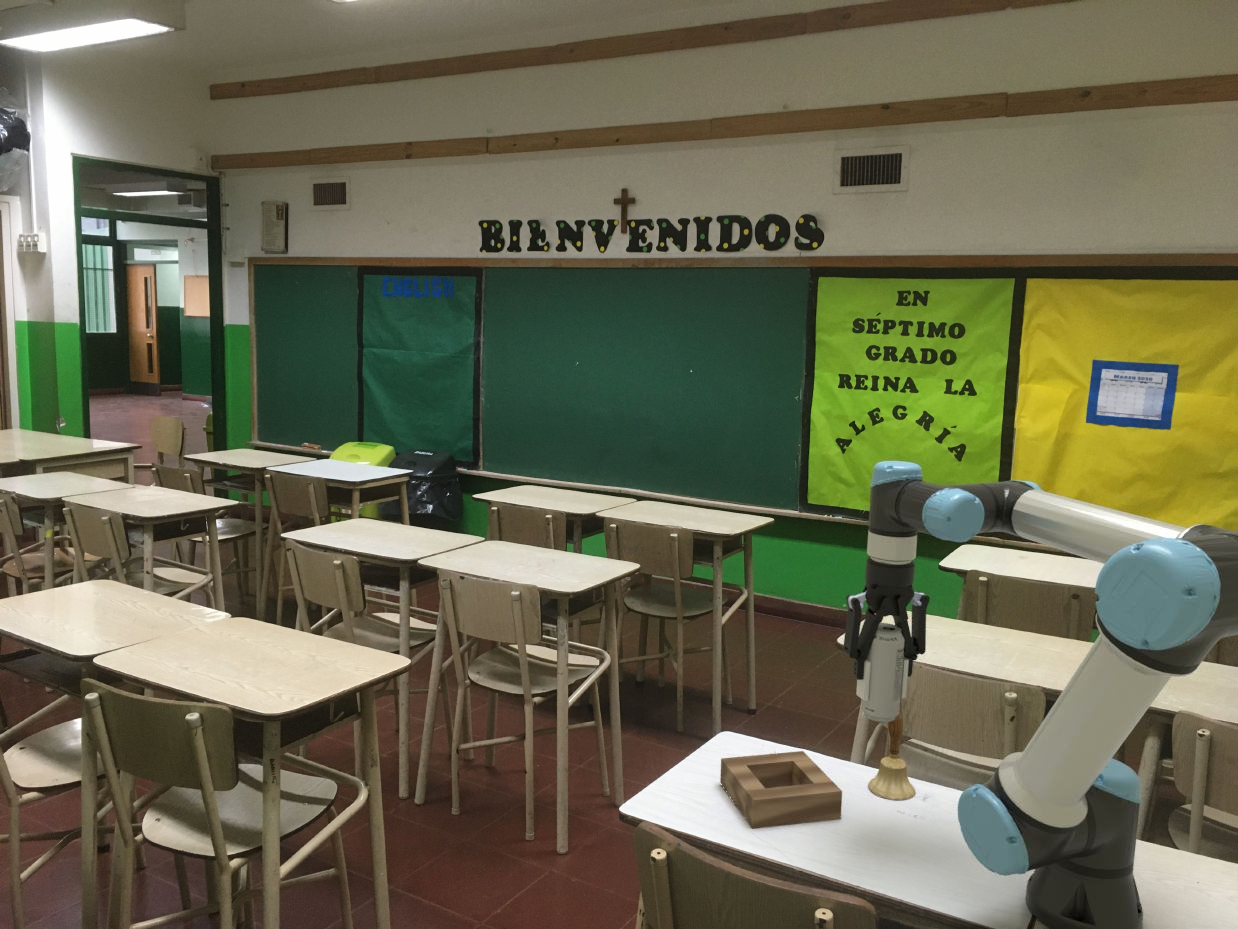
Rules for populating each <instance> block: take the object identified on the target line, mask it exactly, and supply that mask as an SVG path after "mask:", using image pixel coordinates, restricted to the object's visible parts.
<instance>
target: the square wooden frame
mask: <svg viewBox="0 0 1238 929" xmlns="http://www.w3.org/2000/svg"><path fill="white" fill-rule="evenodd" d="M720 783H721V784H722V786H723V787H724V789H725V790H726V791H727V793H728V794H727V793H726V794H727V796H728V795H729V796H730V797H731V799H732V800H733V801H732V800H731V799H730V800H731V801H732V802H734V803H735V804H736V805H735V804H734V803H733V804H734V805H735V806H737V807H738V808H737V807H736V808H737V810H738V809H739V810H740V811H741V812H740V811H739V810H738V811H739V812H740V814H741V813H742V814H743V815H742V814H741V815H742V816H743V817H745V818H746V819H745V818H744V819H745V821H746V822H747V823H748V825H749V826H750V828H751V829H759V828H760V829H761V828H767V827H768V828H770V827H778V826H786V825H787V826H788V825H795V824H806V823H814V822H822V821H823V822H824V821H833V820H840V819H841V818H842V803H843V802H842V801H843V790H842V789H841V788H840V787H839V786H838V785H837V784H836V783H835V782H834V781H833V780H832V779H831V778H830V777H829V776H828V775H827V774H826V773H825V772H824V770H822V769H821V768H820V767H819V766H818V765H817V763H815V762H814V761H813V760H812V759H811V758H810V757H809V755H808V754H806V752H805V751H804V750H799V751H789V752H780V753H779V752H777V753H767V754H765V753H764V754H756V755H746V756H733V757H723V758H720ZM720 783H719V784H720ZM722 786H721V787H722ZM724 789H723V790H724ZM725 790H724V791H725ZM729 796H728V797H729ZM730 797H729V798H730Z"/></svg>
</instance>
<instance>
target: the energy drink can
mask: <svg viewBox="0 0 1238 929" xmlns="http://www.w3.org/2000/svg"><path fill="white" fill-rule="evenodd" d="M904 641H905V640H904V637H903V635H902V633H901V628H899V627H897V626H896V625H895V624H893V623H886V622H881V623H879V626H878V629H877V631H876V634H875V637H874V640H873V642H872V645H871V648H870V651H869V653H868V656H867V660H869V661H870V662H871V666H870V681H869V695H868V701H863V700H862V699H861V705H860V709H861V712H863V715H864V717H866V718H867V719H869V720H870V721H875V722H879V723H888V722H890V721H893V720H894V719H895V717H896V716H897V715H898V714H899V708H900V709H901V706H900V705H901V697H900V695H901V681H902V668H903V654H904Z"/></svg>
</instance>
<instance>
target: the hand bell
mask: <svg viewBox="0 0 1238 929" xmlns="http://www.w3.org/2000/svg"><path fill="white" fill-rule="evenodd" d="M901 710H902V709H901V707H900V708H899V714H898V715H897V716H896V717H895V719H894V720H893V721H890V722H887V727H888V728H887V730H888V735H889V750H888V751H889V755H888V756H885V757H883V758H881V760H880V764H879V768H878V772H877V773H876V775H875V776H874V777H873V778H871V779H870V780H869V782H868V784H867V787H868V790H869V791H870V792H871V793H873V794H874V795H875V796H877V797H880V798H882V799H887V800H891V801H908V800H910V799H912V798H914V797H915V796H916V794H917V793H916V792H917V791H916V788H915V787H914V785H913V784H912V783H911V782H910V780H909V777H908V770H907V763H906V762H905V760H904V759H902V758H900V738H901V735H902V733H903V728H904V727H903V726H904V720H903V719H904V718H903V714H902V711H901Z"/></svg>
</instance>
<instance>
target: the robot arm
mask: <svg viewBox="0 0 1238 929" xmlns="http://www.w3.org/2000/svg"><path fill="white" fill-rule="evenodd" d="M923 479H924V478H923V468H922V467H921V466H920V465H919V464H917V463H914V462H912V461H911V462H910V461H903V460H901V461H900V460H883V461H878V462H877V463H875V465H874V466H873V470H872V474H871V482H870V483H871V484H870V486H869V489H870V497H869V498H870V499H869V514H868V516H869V517H868V531H867V532H868V534H867V548H866V554H867V555H868V557H867V558H866V561H865V576H864V578H865V585H864V588H863V590H862V591H861V593H858V594H856V595H852V594H847V595H846V597H845V600H846V604H847V616H846V622H845V632H844V639H843V648H842V651H843V653H844V654H845V655H846V656H848V657H849V658H850V659H853V669H852V670H853V672H852V675H853V677H854V678H855V679H856V696H857V697H859V699H861V701H862V700H863V701H868V695H869V681H870V666H871V662H870V661H869V660H867V656H868V653H869V651H870V648H871V645H872V642H873V640H874V637H875V634H876V631H877V629H878V626H879V623H883V622H882V621H883V620H884V618H885V617H888V616H891V617H892V618H893V623H894V625H896V626H897V627H899V628H901V633H902V635H903V637H904V640H905V641H904V654H903V668H902V681H901V695H900V699H907V692H908V691H907V688H908V677H910V678H911V676H912V674H913V670H914V669H913V667H914V666H913V665H914V661H917V659H918V656H919V655H925V653H926V643H927V642H926V640H927V638H926V637H927V636H926V635H927V633H926V632H927V609H928V605H929V603H930V596H929V595H927V594H925V593H924V592H921V591H915V590H914V588H913V584H914V583H915V582H914V581H915V572H916V569H915V568H916V563H915V562H914V560H915V559H916V557H917V543H918V532H922V533H923V534H926V535H930V536H933V537H935V538H937V539H940V540H942V541H950V542H955V543H964V542H968V541H970V540H971V539H972V538H973V537H975V536H976V535H978V534H983V533H994V532H1003V533H1006V534H1010V535H1012V536H1016V537H1019V538H1022V539H1026V540H1029V541H1033V542H1036V543H1037V544H1041V545H1045V546H1047V547H1051V548H1054V549H1056V550H1060V551H1064V552H1066V553H1068V554H1069V553H1070V554H1072V555H1076V556H1079V557H1081V558H1085V559H1087V560H1091V561H1094V562H1097V563H1100V564H1102V565H1103V566H1102V567H1101V569H1100V571H1099V573H1098V576H1097V579H1096V583H1095V587H1094V588H1095V589H1094V593H1095V594H1096V595H1097V597H1098V601H1095V607H1096V614H1095V624H1096V627H1097V630H1098V632H1099V635H1098V637H1097V638H1096V639H1095V641H1094V643H1093V644H1092V646H1091V647H1090V649H1089V651H1088V652H1087V654H1086V655H1085V656H1084V658H1083V659H1082V661H1081V662H1080V664H1079V665H1078V667H1077V669H1076V670H1075V671H1074V673H1073V675H1072V676H1071V677H1070V680H1069V681H1068V683H1067V684H1066V685H1065V687H1064V688H1063V690H1062V691H1061V693H1060V695H1059V696H1058V698H1057V699H1056V701H1055V702H1054V704H1053V705H1052V707H1051V708H1050V709H1049V711H1048V713H1047V715H1046V716H1045V718H1044V719H1043V720H1042V722H1041V724H1040V725H1039V727H1038V728H1037V730H1036V732H1035V733H1034V735H1033V736H1032V737H1031V739H1030V741H1029V742H1028V744H1027V745H1026V747H1025V748H1024V749H1023V751H1018V752H1017V751H1016V752H1013V753H1010V754H1008V755H1007V756H1005V757H1003V759H1002V760H1001V762H1000V763H999V765H998V766H997V767H996V770H995V771H994V773H992V776H991V777H990V778H989V779H988V781H986V782H985V783H983V784H980V783H975V784H973V785H971V786H970V787H968V788H966V789H965V790H964V791H963V792H961V794H960V797H959V799H958V802H957V819H958V823H959V826H960V832H961V833H962V837H963V840H964V842H965V843H966V845H967V847H968V849H969V850H970V853H972V855H973V856H974V857H975V859H976V860H977V861H978V862H979V863H980V864H981V865H982V866H983V867H984V868H985V869H986V870H988V871H990V872H991V873H995V874H997V875H999V876H1002V877H1003V876H1007V877H1008V876H1012V875H1025V874H1026V873H1027V872H1030V871H1033V873H1032V874H1031V875H1030V876H1029V878H1028V880H1027V882H1026V890H1025V903H1026V905H1027V908H1028V910H1029V911H1030V912H1031V914H1032V915H1033V917H1035V919H1037V920H1039V922H1040V923H1042V924H1044V925H1045V926H1046V927H1048V928H1050V929H1143V924H1144V923H1143V922H1144V909H1143V906H1142V903H1141V899H1140V895H1139V890H1138V888H1137V887H1138V886H1137V882H1136V879H1135V875H1134V865H1135V854H1136V845H1137V835H1138V834H1137V833H1138V826H1139V825H1138V824H1139V816H1140V808H1141V804H1142V802H1143V801H1142V798H1141V789H1142V788H1141V787H1142V786H1141V785H1142V784H1141V783H1142V782H1141V779H1140V778H1139V775H1138V774H1137V773H1136V771H1135V770H1134V769H1132V768H1131V767H1130V766H1128V765H1127V764H1125V763H1123V762H1122V761H1119V760H1117V759H1114V758H1113V757H1114V756H1115V754H1116V753H1117V751H1119V749H1120V747H1121V746H1122V745H1123V743H1124V742H1125V741H1126V740H1127V738H1128V736H1130V734H1131V733H1132V731H1133V730H1134V729H1135V727H1136V726H1137V724H1138V723H1139V722H1140V720H1142V718H1143V717H1144V715H1145V713H1146V712H1147V711H1148V709H1150V707H1151V706H1152V703H1154V701H1155V700H1156V698H1157V697H1158V696H1159V694H1160V693H1161V692H1162V690H1163V689H1164V688H1165V686H1166V685H1167V684H1168V682H1169V680H1171V678H1173V677H1174V678H1175V677H1179V678H1180V677H1186V676H1189V675H1191V674H1193V673H1194V672H1196V670H1197V669H1198V667H1199V666H1200V665H1201V664H1202V662H1203V661H1204V660H1205V659H1206V657H1207V656H1208V655H1209V653H1210V651H1211V650H1212V649H1213V647H1214V646H1215V645H1216V644H1217V642H1219V641H1220V640H1221V639H1223V638H1228V637H1233V636H1238V531H1237V530H1231V529H1226V528H1222V527H1218V526H1214V525H1209V524H1204V523H1197V524H1194V525H1192V526H1189V527H1184V526H1180V525H1176V524H1172V523H1167V522H1164V521H1161V520H1157V519H1153V518H1149V517H1145V516H1141V515H1139V514H1138V515H1137V514H1133V513H1130V512H1125V511H1122V510H1118V509H1113V508H1110V507H1106V506H1102V505H1098V504H1095V503H1090V502H1086V501H1082V500H1079V499H1074V498H1071V497H1069V496H1068V497H1067V496H1063V495H1060V494H1059V495H1058V494H1055V493H1051V492H1049V491H1048V492H1047V491H1044V490H1043V489H1042V488H1041V487H1040V486H1039V484H1037V483H1035V482H1033V481H1029V480H1028V481H1027V480H1016V479H1010V480H1005V481H996V482H995V481H994V482H993V481H992V482H982V483H979V482H978V483H964V484H963V483H962V484H949V485H945V484H943V485H942V484H937V483H932V482H927V481H924V480H923ZM910 602H911V630H910V626H909V620H908V619H909V615H908V610H907V607H908V606H909V604H910ZM865 603H866V604H867V605H868V606H867V609H866V611H865V619H864V622H863V624H862V626H861V622H862V614H863V613H862V612H863V611H862V609H863V608H864V604H865Z"/></svg>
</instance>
